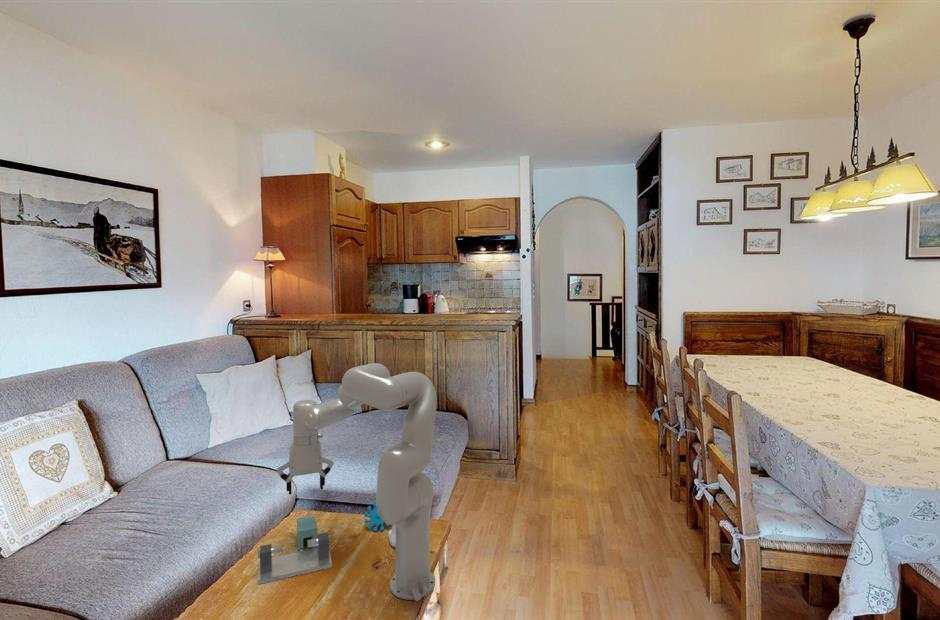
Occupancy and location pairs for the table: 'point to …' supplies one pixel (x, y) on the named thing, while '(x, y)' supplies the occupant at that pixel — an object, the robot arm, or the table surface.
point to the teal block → (306, 529)
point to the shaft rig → (293, 560)
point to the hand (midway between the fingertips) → (305, 490)
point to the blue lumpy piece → (374, 518)
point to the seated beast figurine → (392, 536)
